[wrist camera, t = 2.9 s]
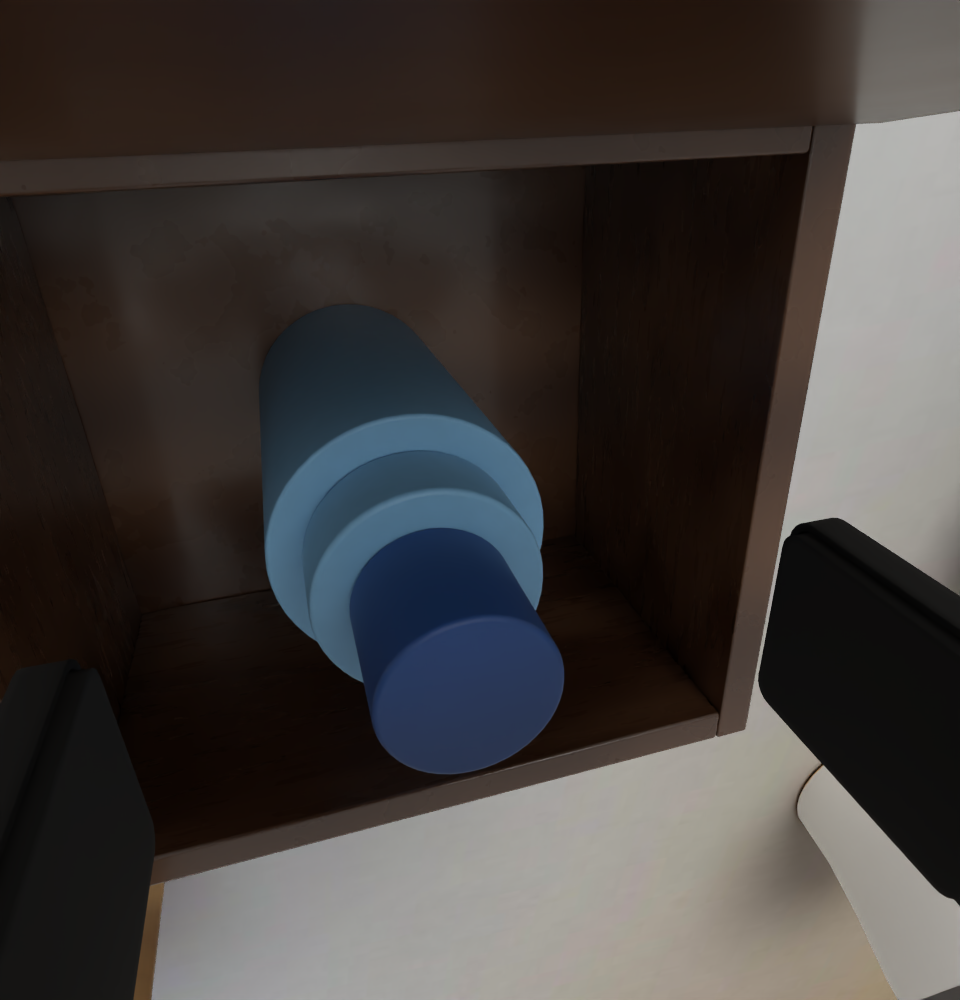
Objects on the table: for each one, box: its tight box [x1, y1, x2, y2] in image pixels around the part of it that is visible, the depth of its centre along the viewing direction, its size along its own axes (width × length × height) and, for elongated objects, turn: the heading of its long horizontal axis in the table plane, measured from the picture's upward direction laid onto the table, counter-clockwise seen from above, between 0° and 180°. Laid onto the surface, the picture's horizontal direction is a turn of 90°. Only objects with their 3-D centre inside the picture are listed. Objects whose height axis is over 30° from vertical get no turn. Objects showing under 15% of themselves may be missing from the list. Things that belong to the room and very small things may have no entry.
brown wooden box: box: [0, 124, 856, 886], centre depth 17 cm, size 14×16×10 cm
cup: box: [797, 765, 960, 1000], centre depth 32 cm, size 10×10×14 cm
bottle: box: [259, 304, 564, 774], centre depth 15 cm, size 5×5×13 cm
